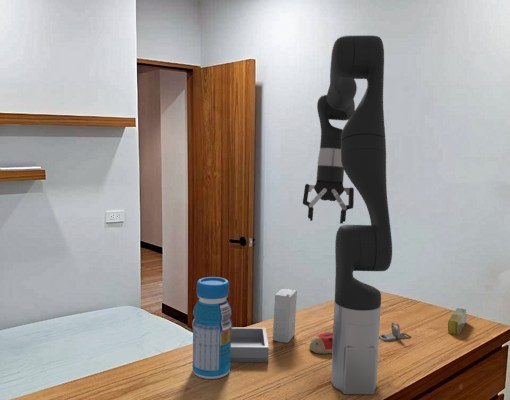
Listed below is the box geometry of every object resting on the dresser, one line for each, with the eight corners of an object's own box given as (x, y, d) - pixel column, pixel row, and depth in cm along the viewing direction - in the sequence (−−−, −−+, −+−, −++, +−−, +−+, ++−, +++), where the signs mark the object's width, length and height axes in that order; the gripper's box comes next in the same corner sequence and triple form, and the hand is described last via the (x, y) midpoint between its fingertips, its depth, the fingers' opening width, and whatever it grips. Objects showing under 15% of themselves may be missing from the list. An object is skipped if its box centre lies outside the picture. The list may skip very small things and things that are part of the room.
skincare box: (279, 332, 128) (280, 287, 127) (295, 335, 127) (297, 289, 126) (271, 341, 123) (273, 294, 121) (289, 344, 121) (290, 296, 120)
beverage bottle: (195, 382, 100) (196, 287, 98) (188, 364, 108) (189, 276, 106) (235, 378, 103) (237, 285, 100) (226, 360, 111) (227, 274, 109)
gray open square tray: (268, 362, 111) (268, 347, 110) (215, 361, 110) (215, 346, 110) (265, 341, 123) (265, 327, 122) (217, 340, 122) (217, 327, 122)
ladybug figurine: (303, 347, 120) (303, 333, 119) (334, 340, 125) (335, 327, 124) (320, 358, 114) (320, 343, 114) (352, 350, 119) (353, 336, 119)
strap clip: (384, 343, 124) (385, 327, 124) (377, 338, 127) (378, 322, 126) (412, 339, 127) (413, 323, 127) (404, 334, 130) (405, 319, 129)
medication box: (456, 321, 141) (456, 307, 141) (466, 323, 140) (466, 309, 139) (447, 334, 131) (448, 319, 131) (458, 336, 129) (458, 321, 129)
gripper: (305, 162, 136) (301, 220, 137) (357, 166, 135) (352, 225, 135) (305, 164, 144) (301, 219, 144) (355, 167, 142) (350, 223, 143)
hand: (326, 222), depth 140 cm, fingers open, 8 cm apart
